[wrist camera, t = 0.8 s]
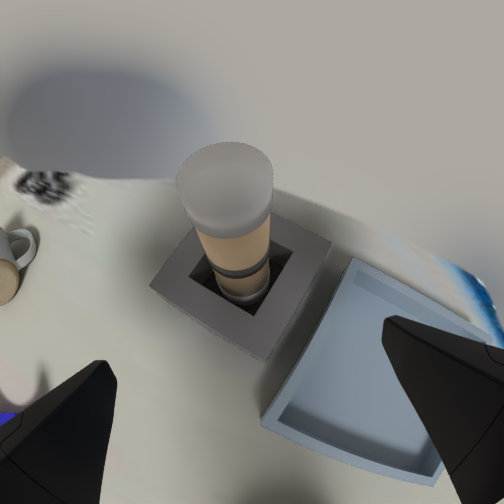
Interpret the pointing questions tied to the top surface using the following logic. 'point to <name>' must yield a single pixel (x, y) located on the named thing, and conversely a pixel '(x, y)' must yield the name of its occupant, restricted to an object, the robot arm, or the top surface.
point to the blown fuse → (231, 215)
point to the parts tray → (362, 381)
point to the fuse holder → (227, 314)
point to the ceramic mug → (12, 262)
